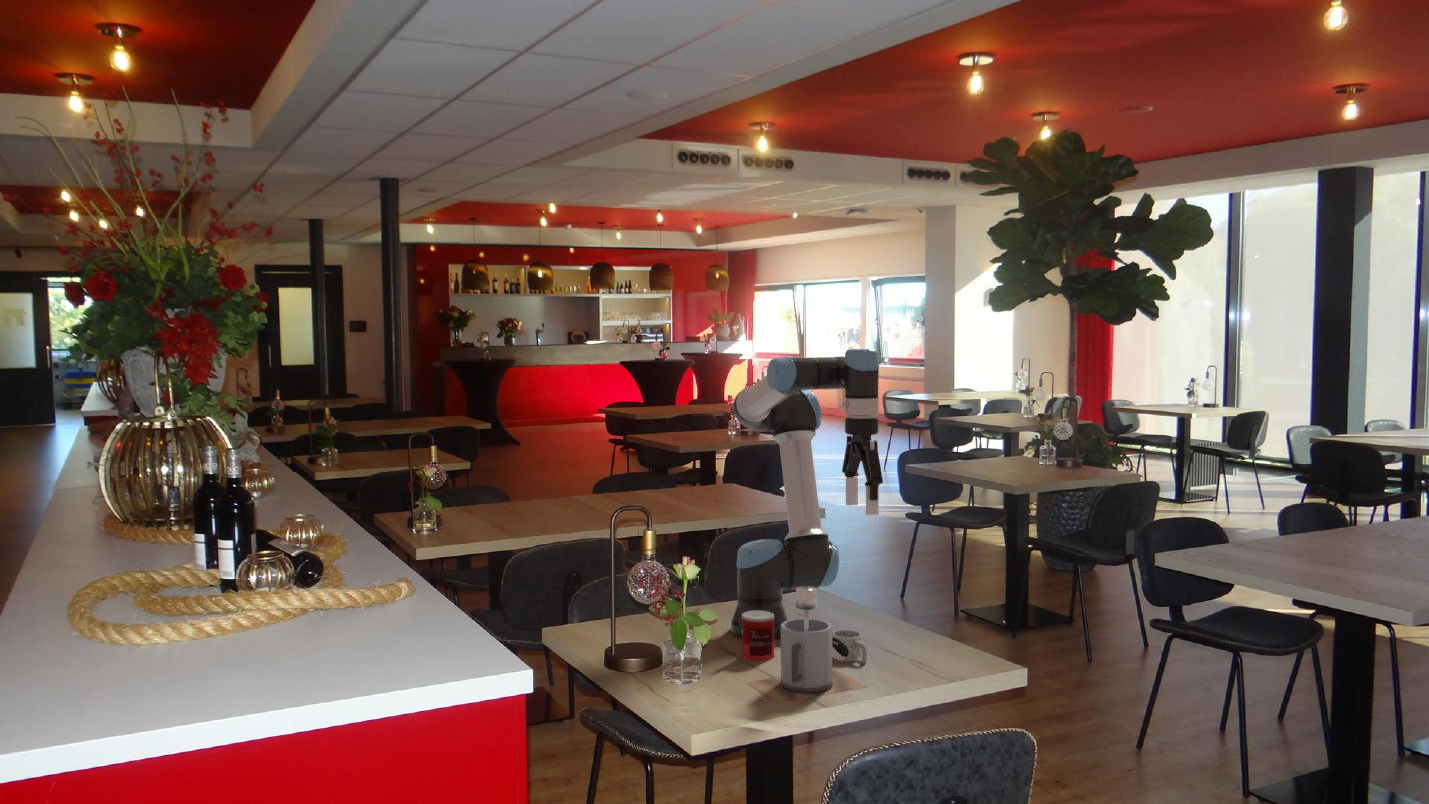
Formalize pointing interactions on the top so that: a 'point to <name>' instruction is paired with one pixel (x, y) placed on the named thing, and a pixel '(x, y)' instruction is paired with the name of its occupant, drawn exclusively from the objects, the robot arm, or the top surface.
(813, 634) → the grey cup
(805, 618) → the plunger
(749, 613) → the canned food
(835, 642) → the mug
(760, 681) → the serving board
